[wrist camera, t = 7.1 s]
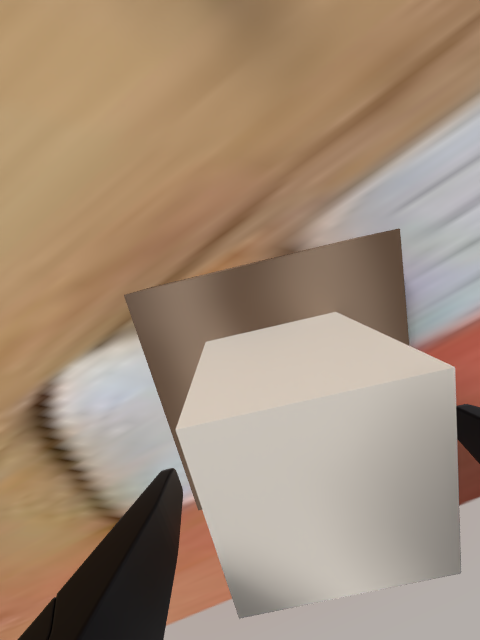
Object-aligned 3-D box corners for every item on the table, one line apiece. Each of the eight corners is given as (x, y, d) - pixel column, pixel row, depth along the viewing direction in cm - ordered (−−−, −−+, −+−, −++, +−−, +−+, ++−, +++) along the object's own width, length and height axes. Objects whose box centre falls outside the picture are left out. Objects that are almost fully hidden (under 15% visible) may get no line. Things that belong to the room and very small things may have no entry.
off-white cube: (335, 311, 11) (454, 367, 5) (352, 425, 12) (461, 572, 6) (205, 341, 11) (175, 429, 5) (236, 451, 12) (239, 618, 7)
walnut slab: (353, 238, 14) (399, 228, 10) (375, 416, 17) (418, 463, 13) (153, 286, 14) (124, 295, 11) (206, 454, 17) (198, 510, 13)
